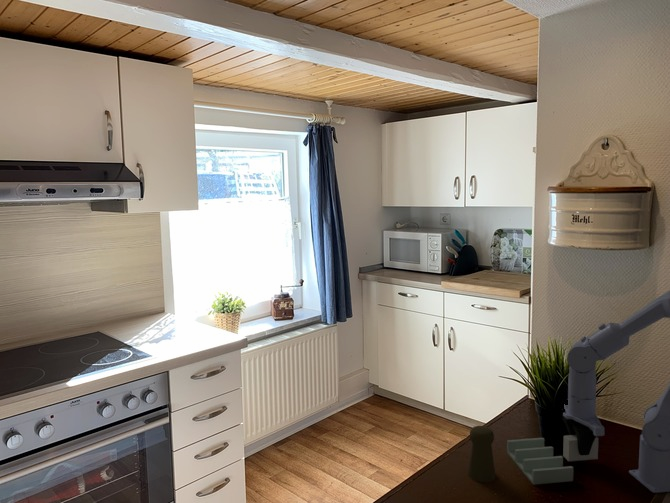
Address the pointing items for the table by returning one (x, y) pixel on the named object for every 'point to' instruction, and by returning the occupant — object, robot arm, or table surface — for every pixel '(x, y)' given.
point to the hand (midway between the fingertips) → (580, 450)
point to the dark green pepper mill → (481, 455)
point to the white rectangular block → (572, 449)
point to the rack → (538, 461)
